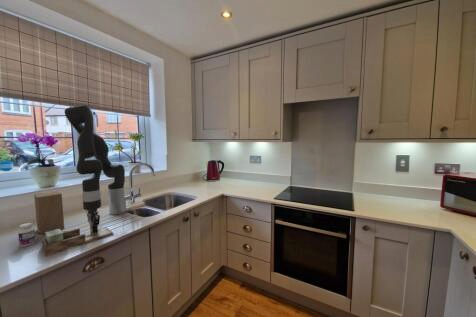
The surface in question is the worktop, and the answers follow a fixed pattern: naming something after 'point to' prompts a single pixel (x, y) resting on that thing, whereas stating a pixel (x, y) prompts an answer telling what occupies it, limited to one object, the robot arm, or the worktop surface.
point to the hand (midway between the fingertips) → (94, 231)
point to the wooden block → (49, 211)
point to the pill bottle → (26, 235)
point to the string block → (60, 235)
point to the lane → (73, 240)
